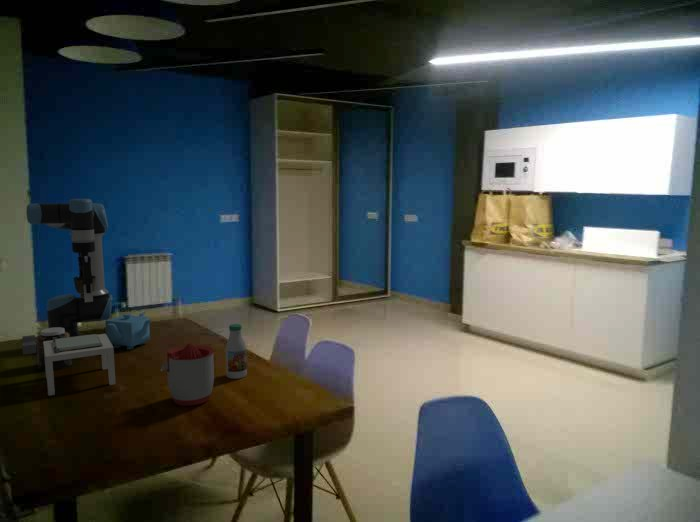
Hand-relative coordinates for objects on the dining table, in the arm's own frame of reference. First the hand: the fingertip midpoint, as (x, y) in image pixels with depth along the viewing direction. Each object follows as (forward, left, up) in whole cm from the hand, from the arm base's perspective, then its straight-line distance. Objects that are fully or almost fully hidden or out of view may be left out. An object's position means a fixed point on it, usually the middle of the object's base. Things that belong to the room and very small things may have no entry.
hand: (86, 298), depth 199 cm
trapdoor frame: (0, -4, -31) cm, 31 cm away
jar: (-24, -11, -31) cm, 41 cm away
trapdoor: (0, -9, -17) cm, 19 cm away
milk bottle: (+25, +48, -31) cm, 62 cm away
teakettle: (-38, +20, -31) cm, 53 cm away
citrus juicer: (+40, +26, -31) cm, 57 cm away
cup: (-3, 0, 0) cm, 3 cm away
